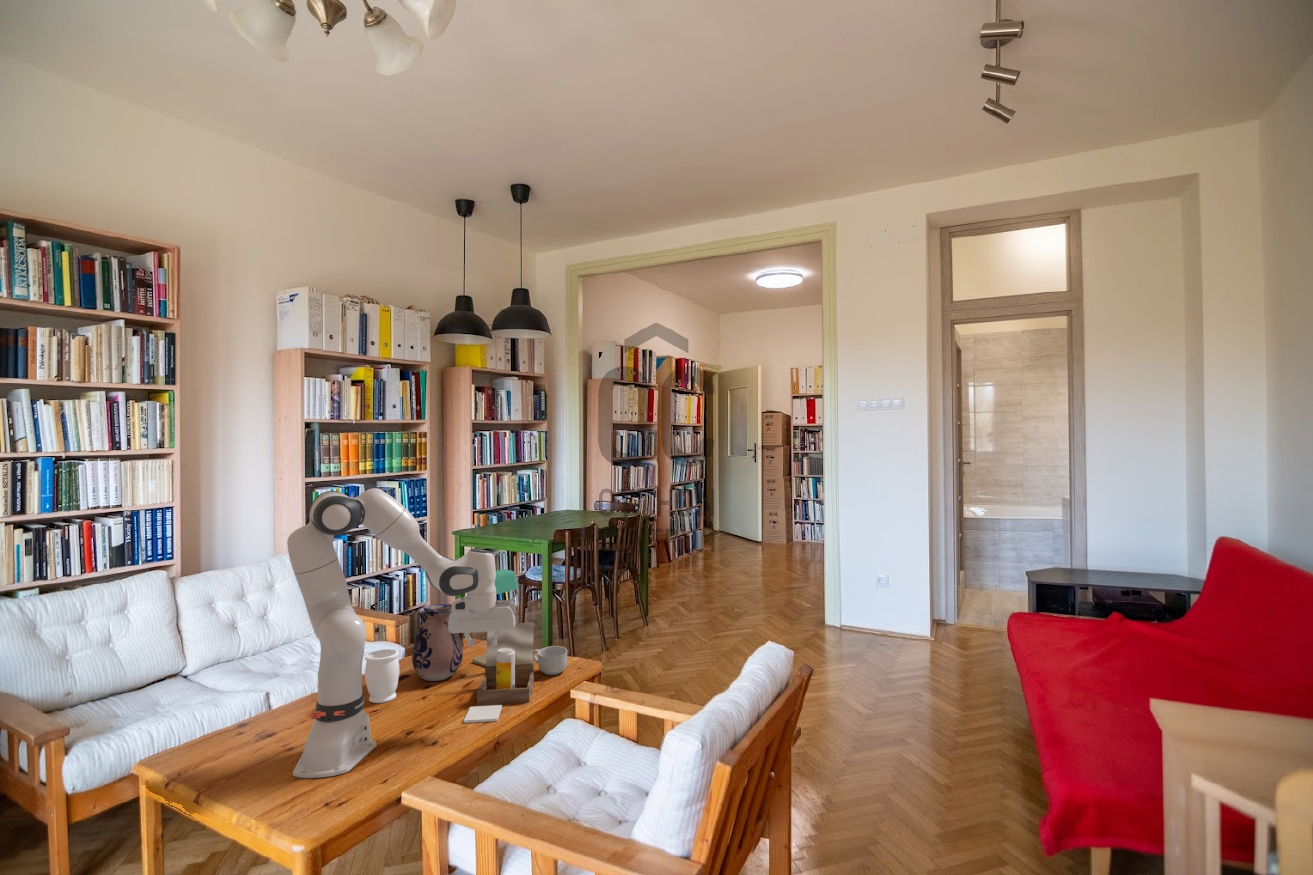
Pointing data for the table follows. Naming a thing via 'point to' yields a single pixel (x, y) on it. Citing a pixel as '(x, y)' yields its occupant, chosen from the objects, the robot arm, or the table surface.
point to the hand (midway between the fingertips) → (482, 645)
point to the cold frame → (524, 666)
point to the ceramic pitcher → (436, 645)
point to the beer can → (505, 668)
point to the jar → (382, 674)
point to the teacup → (551, 659)
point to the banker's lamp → (503, 584)
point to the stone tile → (483, 714)
